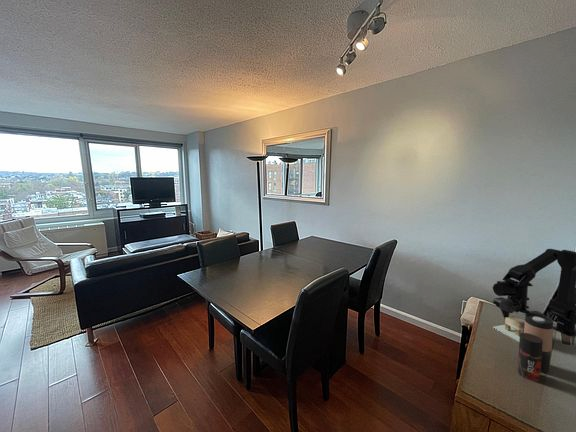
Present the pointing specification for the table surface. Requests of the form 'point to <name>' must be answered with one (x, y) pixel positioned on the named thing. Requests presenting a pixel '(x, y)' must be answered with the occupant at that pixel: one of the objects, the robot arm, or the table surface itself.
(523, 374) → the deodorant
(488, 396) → the table surface
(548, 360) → the travel mug
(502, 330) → the board
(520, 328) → the tan box with tabs
